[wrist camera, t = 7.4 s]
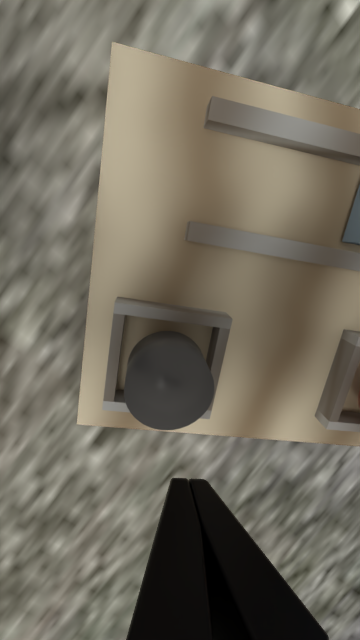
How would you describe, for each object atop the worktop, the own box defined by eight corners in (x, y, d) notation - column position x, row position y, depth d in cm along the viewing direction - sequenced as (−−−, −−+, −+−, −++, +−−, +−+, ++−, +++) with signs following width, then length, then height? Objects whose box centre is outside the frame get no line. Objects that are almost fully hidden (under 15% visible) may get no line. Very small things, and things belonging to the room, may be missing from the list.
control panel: (84, 403, 18) (71, 439, 15) (117, 69, 13) (108, 20, 10) (378, 429, 21) (419, 463, 18) (486, 164, 16) (565, 149, 13)
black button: (122, 397, 14) (118, 426, 12) (132, 325, 13) (129, 343, 11) (196, 404, 15) (204, 433, 13) (211, 336, 14) (222, 355, 12)
